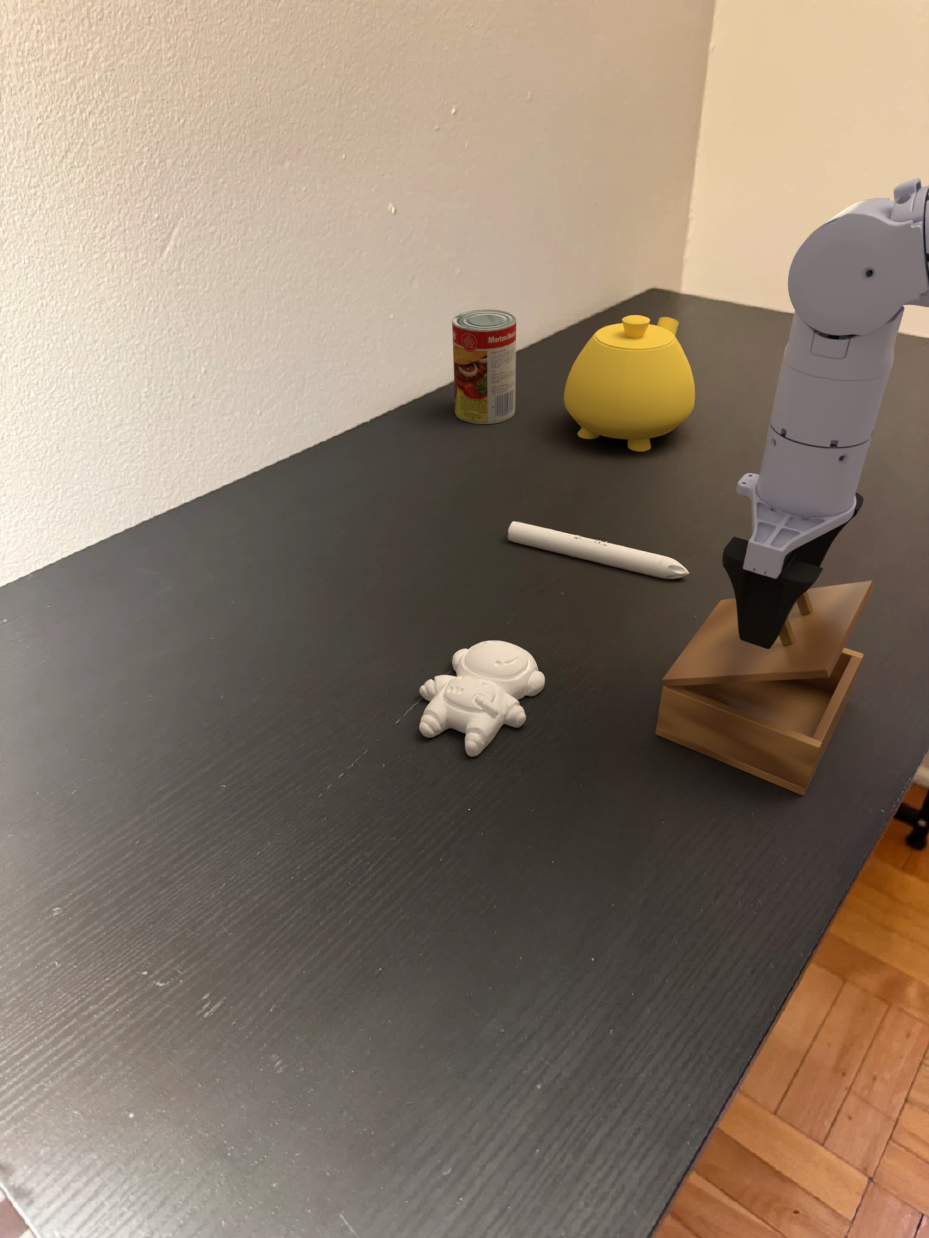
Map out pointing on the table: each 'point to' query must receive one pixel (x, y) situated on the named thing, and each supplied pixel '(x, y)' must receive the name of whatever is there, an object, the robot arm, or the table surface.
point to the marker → (596, 551)
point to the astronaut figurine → (481, 693)
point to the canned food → (484, 365)
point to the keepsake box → (762, 721)
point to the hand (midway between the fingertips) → (774, 612)
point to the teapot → (631, 382)
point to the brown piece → (796, 652)
